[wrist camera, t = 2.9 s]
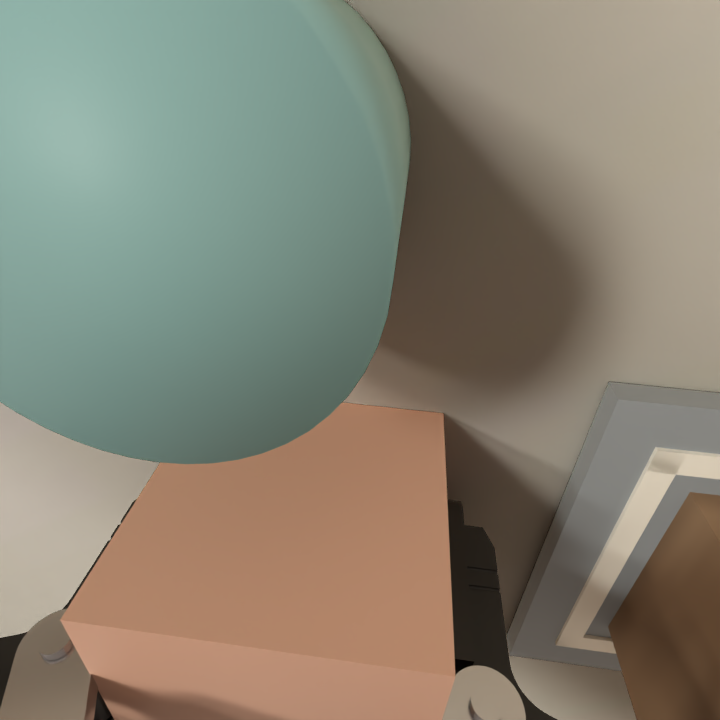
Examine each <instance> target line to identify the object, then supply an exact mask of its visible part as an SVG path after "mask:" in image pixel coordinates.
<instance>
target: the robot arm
mask: <svg viewBox="0 0 720 720" xmlns="http://www.w3.org/2000/svg"><path fill="white" fill-rule="evenodd" d="M136 500H137V499H136ZM136 500H135V501H136ZM135 501H134V502H133V503H132V504H131V506H130V508H129V509H128V511H127V512H126V514H125V515H124V517H123V519H122V520H121V523H122V522H123V520H124V519H125V517H126V516H127V514H128V512H129V511H130V509H131V508H132V506H133V505H134V503H135ZM447 503H448V524H449V546H450V568H451V590H452V611H453V633H454V655H455V680H454V683H453V686H452V690H451V693H450V696H449V699H448V702H447V705H446V709H445V712H444V715H443V718H442V720H557V719H555V718H553V717H551V716H549V715H548V714H546V713H544V712H543V711H541V710H540V709H539V708H537V707H536V706H535V705H534V704H533V703H532V702H531V701H529V700H528V698H527V697H526V696H525V695H524V694H523V692H522V691H521V689H520V688H519V686H518V685H517V683H516V681H515V679H514V676H513V674H512V671H511V667H510V662H509V655H508V647H507V640H506V632H505V625H504V617H503V610H502V602H501V595H500V592H499V589H500V587H499V580H498V575H497V565H496V557H495V550H494V547H493V545H492V543H491V541H490V540H489V538H488V536H487V534H486V533H485V531H484V529H483V528H482V527H474V526H466V525H464V519H463V507H462V502H461V501H453V500H447ZM120 525H121V524H120ZM120 525H118V526H117V528H116V529H115V531H114V533H113V534H112V536H111V539H112V538H113V536H114V534H115V533H116V531H117V530H118V528H119V527H120ZM110 541H111V540H110ZM110 541H108V542H107V543H106V545H105V547H104V548H103V550H102V551H101V553H100V554H99V556H98V557H97V559H96V561H95V562H94V564H93V565H92V567H91V568H90V570H89V572H88V573H87V575H86V576H85V578H84V579H83V581H82V582H81V584H80V586H79V587H78V589H77V590H76V592H75V593H74V595H73V596H72V598H71V599H70V601H69V602H68V604H67V605H66V606H65V607H64V608H63V609H62V610H59V611H57V612H54V613H52V614H50V615H48V616H46V617H45V618H43V619H42V620H40V621H39V622H38V623H36V624H35V625H34V626H33V627H32V628H31V629H30V630H29V631H28V632H26V633H22V634H18V635H13V636H8V637H3V638H0V720H114V718H113V716H112V714H111V713H110V711H109V709H108V707H107V705H106V703H105V702H104V700H103V698H102V696H101V694H100V692H99V691H98V686H97V684H96V682H95V680H94V678H93V676H92V674H90V673H89V672H88V670H87V669H86V667H85V665H84V663H83V661H82V659H81V658H80V656H79V654H78V652H77V650H76V648H75V646H74V645H73V643H72V641H71V639H70V637H69V635H68V634H67V632H66V630H65V628H64V626H63V624H62V623H61V621H60V619H61V618H62V616H63V615H64V613H65V611H66V610H67V608H68V607H69V605H70V604H71V602H72V600H73V599H74V597H75V596H76V594H77V593H78V591H79V589H80V588H81V586H82V585H83V583H84V582H85V580H86V578H87V577H88V575H89V574H90V572H91V571H92V569H93V567H94V566H95V564H96V563H97V561H98V560H99V558H100V556H101V555H102V553H103V552H104V550H105V549H106V547H107V545H108V544H109V542H110Z"/></svg>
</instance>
